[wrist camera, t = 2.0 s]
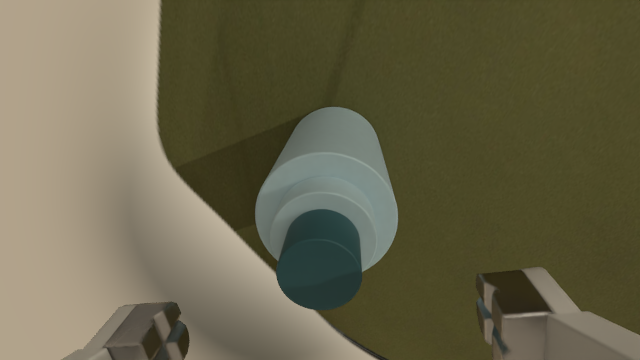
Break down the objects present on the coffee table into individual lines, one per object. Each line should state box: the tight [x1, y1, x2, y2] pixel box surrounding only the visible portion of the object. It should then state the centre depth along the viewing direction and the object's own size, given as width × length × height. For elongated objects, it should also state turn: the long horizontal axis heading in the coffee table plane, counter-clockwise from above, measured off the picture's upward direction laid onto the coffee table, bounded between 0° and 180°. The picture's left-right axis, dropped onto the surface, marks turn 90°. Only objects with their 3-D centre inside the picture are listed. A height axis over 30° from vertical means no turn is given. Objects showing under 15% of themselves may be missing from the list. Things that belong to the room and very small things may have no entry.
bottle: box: [255, 107, 398, 310], centre depth 17 cm, size 6×6×12 cm
